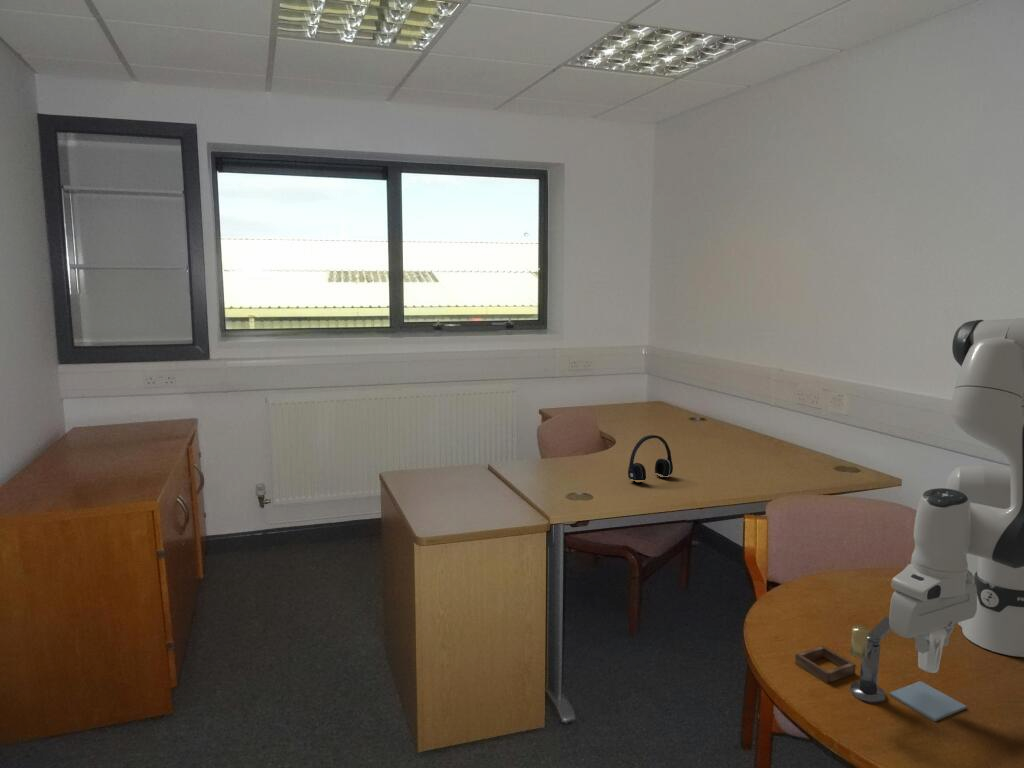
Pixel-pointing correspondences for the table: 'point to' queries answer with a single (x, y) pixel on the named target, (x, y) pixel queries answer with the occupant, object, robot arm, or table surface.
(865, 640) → the lever
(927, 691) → the pad
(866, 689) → the latch post
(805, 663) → the brown square frame
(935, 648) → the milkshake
